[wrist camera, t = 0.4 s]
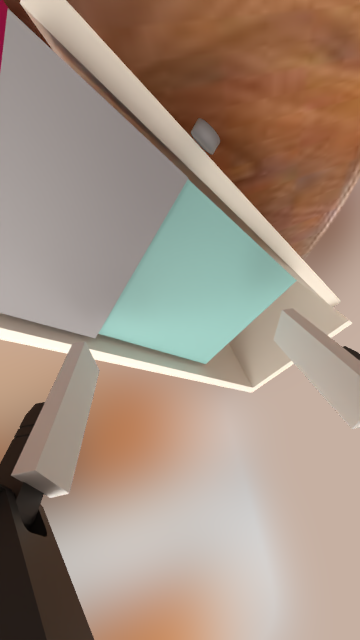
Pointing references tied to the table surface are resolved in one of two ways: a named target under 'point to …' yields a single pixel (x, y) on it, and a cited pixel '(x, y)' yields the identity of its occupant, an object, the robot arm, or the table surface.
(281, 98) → the table surface
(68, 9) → the frame
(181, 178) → the trapdoor
